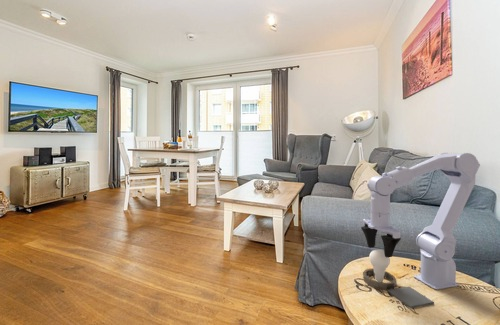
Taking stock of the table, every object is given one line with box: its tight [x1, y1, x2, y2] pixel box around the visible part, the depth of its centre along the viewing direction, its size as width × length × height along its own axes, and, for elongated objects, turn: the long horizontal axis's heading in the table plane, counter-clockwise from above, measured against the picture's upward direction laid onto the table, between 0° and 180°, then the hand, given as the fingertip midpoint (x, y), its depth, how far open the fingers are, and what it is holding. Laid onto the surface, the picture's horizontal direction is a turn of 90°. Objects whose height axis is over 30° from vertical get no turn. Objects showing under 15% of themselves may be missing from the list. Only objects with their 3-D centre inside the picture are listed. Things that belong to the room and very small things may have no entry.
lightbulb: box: [368, 248, 391, 282], centre depth 79 cm, size 6×6×11 cm
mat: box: [387, 286, 434, 309], centre depth 71 cm, size 8×8×1 cm
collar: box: [362, 268, 397, 291], centre depth 79 cm, size 10×10×2 cm
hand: (379, 251), depth 79 cm, fingers open, 7 cm apart
